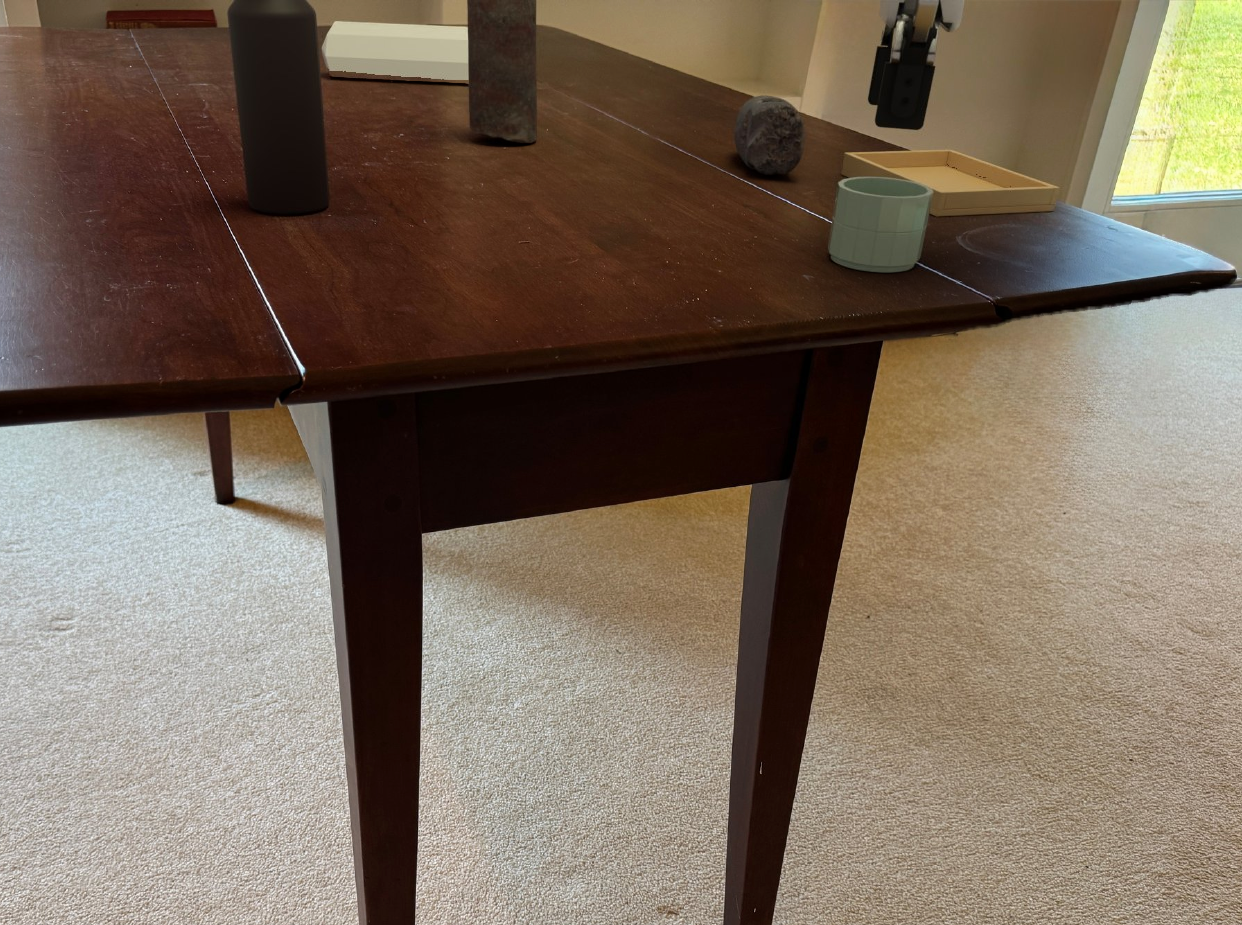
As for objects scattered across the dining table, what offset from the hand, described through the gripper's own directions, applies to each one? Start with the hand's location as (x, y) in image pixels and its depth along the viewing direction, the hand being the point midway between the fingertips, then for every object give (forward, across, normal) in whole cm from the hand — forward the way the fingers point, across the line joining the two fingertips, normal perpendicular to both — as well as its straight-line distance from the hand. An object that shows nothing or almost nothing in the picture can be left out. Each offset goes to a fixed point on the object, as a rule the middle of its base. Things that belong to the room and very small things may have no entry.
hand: (893, 116), depth 80 cm
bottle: (+11, +2, +48) cm, 49 cm away
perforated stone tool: (+11, +32, +9) cm, 35 cm away
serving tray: (+10, +26, -8) cm, 30 cm away
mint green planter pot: (+10, 0, 0) cm, 10 cm away
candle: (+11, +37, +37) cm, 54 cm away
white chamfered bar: (+12, +76, +61) cm, 98 cm away
